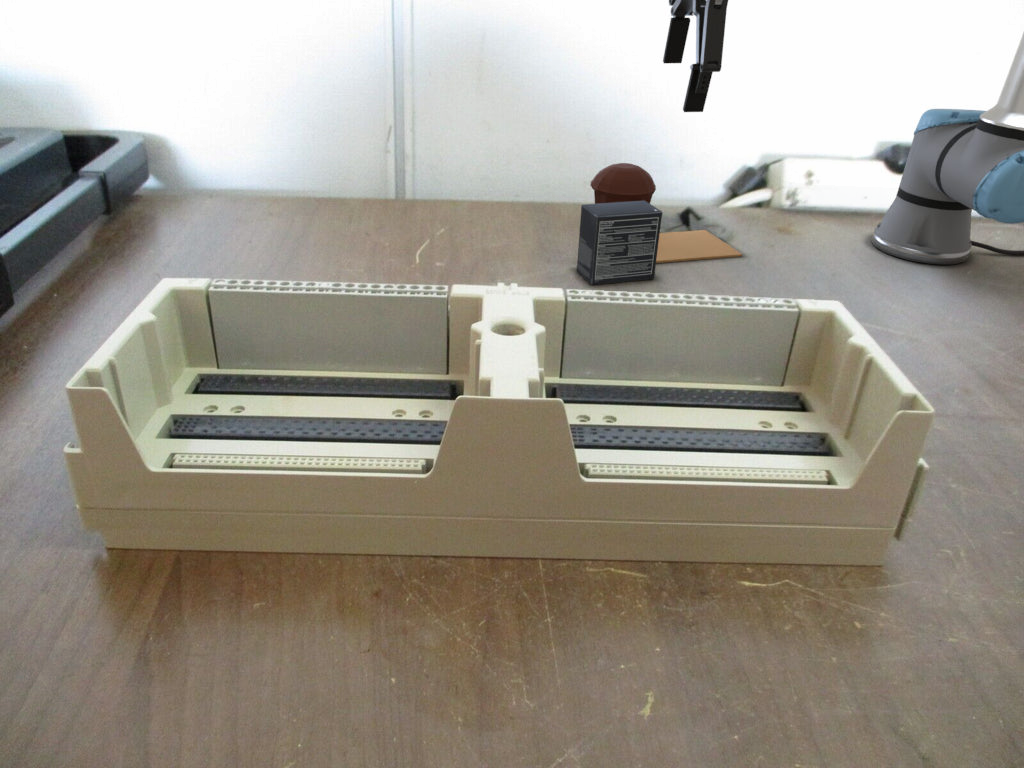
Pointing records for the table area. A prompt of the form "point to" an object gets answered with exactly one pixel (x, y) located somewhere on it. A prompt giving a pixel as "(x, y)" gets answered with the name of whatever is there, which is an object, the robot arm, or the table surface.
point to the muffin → (622, 184)
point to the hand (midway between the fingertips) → (682, 85)
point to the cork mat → (692, 247)
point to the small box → (618, 241)
